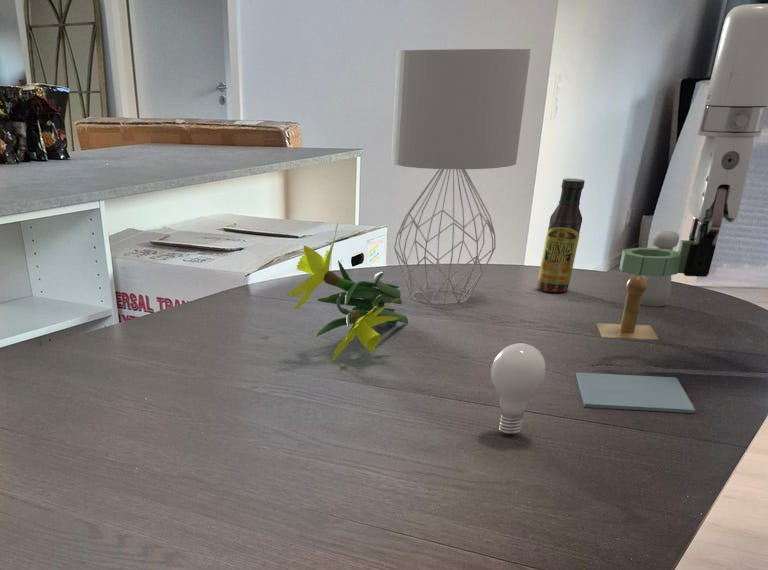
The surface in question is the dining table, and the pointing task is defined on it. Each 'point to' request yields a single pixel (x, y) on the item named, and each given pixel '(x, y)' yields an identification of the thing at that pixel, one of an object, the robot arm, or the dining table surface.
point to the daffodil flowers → (350, 299)
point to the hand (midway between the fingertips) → (694, 273)
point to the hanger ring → (655, 260)
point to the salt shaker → (656, 285)
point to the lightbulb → (516, 382)
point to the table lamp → (456, 129)
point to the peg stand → (630, 314)
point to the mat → (633, 392)
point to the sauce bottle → (562, 239)
